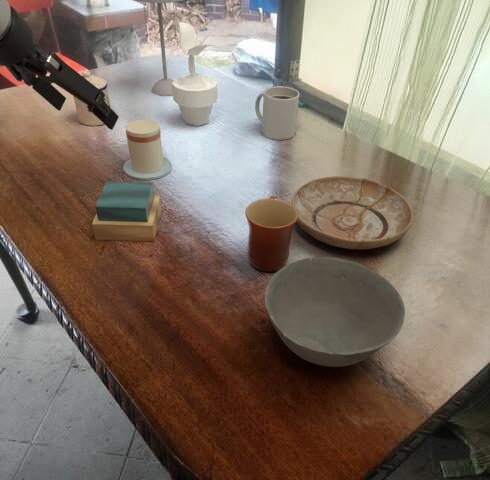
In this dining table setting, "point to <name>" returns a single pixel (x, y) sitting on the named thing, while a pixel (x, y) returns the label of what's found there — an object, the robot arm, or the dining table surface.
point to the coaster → (148, 176)
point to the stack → (127, 212)
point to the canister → (144, 146)
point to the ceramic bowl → (352, 212)
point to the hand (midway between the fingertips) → (87, 113)
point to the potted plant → (193, 81)
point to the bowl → (333, 310)
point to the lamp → (165, 84)
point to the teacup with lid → (81, 107)
